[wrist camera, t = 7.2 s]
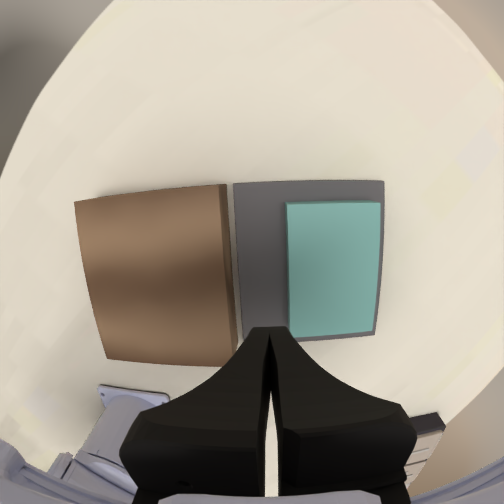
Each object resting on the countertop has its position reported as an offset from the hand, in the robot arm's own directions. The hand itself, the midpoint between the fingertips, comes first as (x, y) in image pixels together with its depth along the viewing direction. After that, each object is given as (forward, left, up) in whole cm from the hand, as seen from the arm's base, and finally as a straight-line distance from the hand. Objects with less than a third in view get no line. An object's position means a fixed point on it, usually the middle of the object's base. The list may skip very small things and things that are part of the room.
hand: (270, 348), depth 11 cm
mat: (0, -3, -10) cm, 11 cm away
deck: (0, +8, -10) cm, 13 cm away
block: (0, -4, -9) cm, 10 cm away
